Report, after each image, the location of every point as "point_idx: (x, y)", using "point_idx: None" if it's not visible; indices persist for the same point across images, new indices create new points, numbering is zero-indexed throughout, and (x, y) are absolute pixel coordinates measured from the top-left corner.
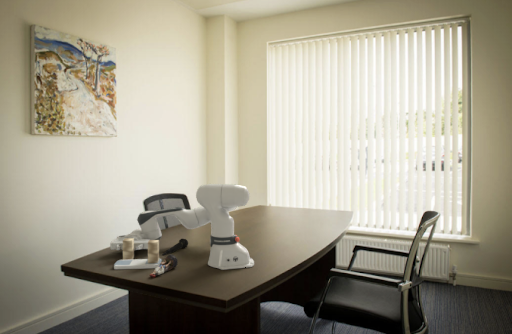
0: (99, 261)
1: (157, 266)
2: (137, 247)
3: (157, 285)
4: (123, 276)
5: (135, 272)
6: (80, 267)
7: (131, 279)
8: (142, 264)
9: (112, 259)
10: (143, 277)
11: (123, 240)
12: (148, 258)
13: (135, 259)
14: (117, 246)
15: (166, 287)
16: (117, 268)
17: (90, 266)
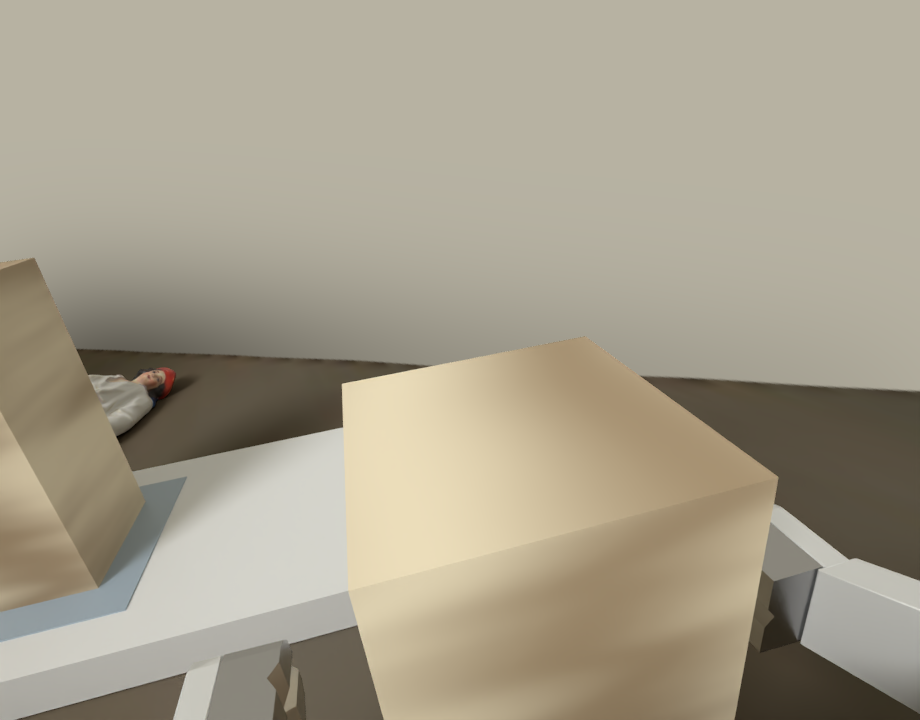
0: (898, 558)
1: (88, 375)
2: (252, 653)
3: (152, 352)
4: (349, 372)
5: (280, 420)
6: (818, 398)
7: (290, 361)
8: (211, 470)
9: (834, 699)
10: (219, 385)
11: (575, 344)
12: (116, 456)
13: (317, 590)
14: (805, 528)
15: (114, 350)
16: None
17: (763, 427)
